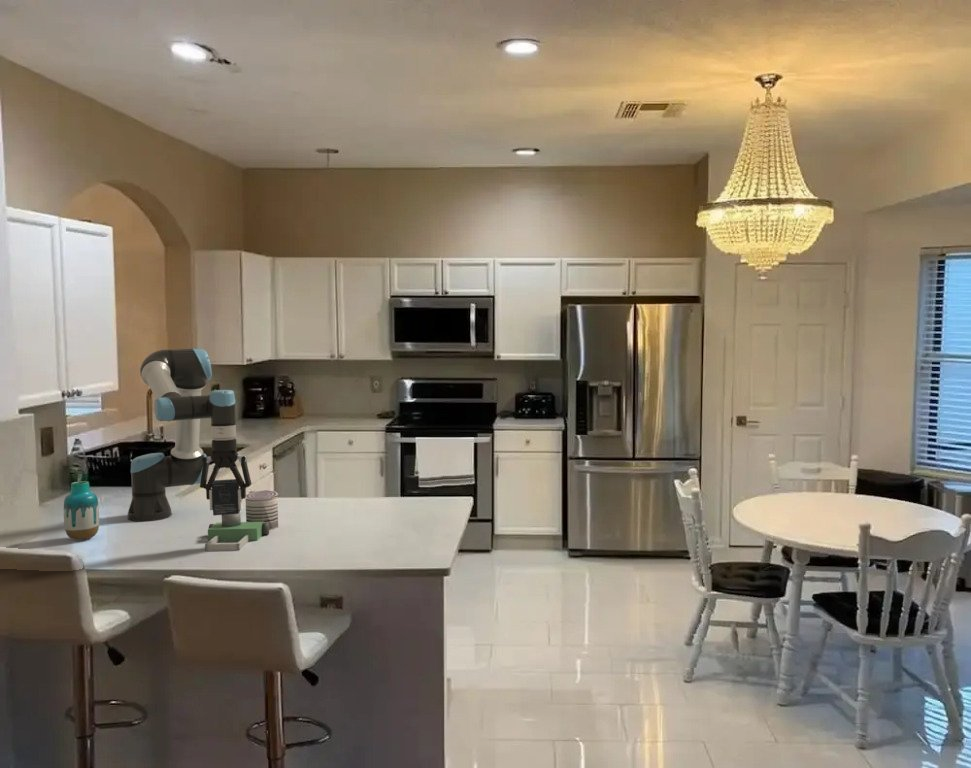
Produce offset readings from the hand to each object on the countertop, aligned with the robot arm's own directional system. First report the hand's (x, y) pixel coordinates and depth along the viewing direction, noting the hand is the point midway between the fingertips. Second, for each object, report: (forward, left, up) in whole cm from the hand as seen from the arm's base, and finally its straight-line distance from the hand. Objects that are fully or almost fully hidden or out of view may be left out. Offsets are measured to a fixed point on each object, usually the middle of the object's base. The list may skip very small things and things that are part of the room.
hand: (226, 509), depth 268 cm
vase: (-52, +13, -12) cm, 55 cm away
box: (0, 0, -2) cm, 2 cm away
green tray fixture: (0, +5, -12) cm, 13 cm away
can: (+5, +25, -12) cm, 28 cm away
